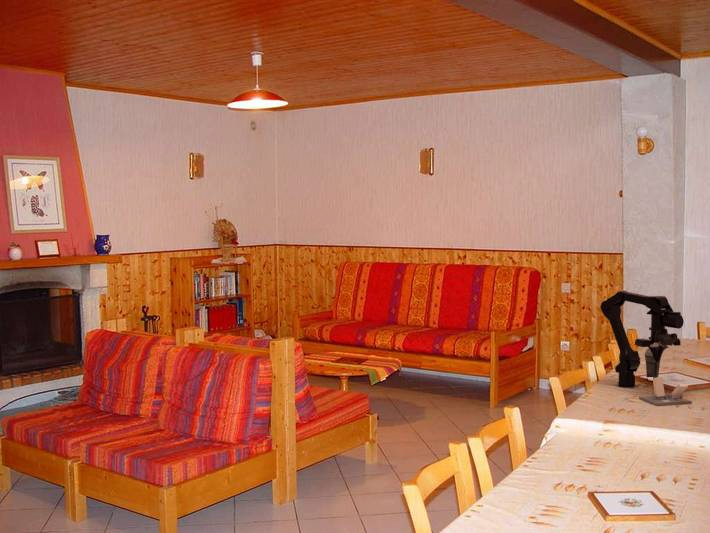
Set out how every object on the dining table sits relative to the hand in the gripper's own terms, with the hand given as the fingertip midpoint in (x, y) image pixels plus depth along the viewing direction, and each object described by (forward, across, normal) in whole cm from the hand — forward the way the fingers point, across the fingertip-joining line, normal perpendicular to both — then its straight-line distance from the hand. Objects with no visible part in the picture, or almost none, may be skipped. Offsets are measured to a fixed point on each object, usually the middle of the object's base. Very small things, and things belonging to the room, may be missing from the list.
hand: (657, 362), depth 351 cm
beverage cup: (+13, +12, +21) cm, 27 cm away
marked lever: (+11, -2, -15) cm, 19 cm away
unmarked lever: (+11, -9, -15) cm, 21 cm away
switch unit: (+13, -5, -15) cm, 21 cm away
